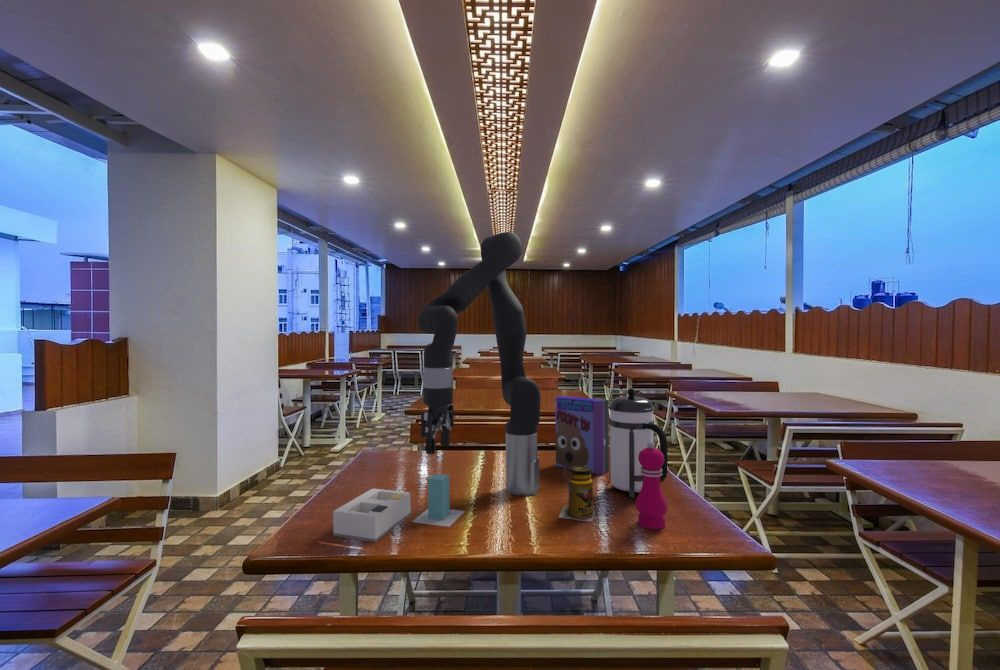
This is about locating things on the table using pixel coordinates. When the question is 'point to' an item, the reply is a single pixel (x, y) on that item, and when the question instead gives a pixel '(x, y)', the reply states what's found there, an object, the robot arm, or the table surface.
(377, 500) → the socket box
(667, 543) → the table surface
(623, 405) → the coffee press
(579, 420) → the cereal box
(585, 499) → the condiment
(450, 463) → the table surface
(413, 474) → the table surface
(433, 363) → the robot arm
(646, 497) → the pepper mill
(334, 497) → the table surface
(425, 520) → the mat
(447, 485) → the plug
